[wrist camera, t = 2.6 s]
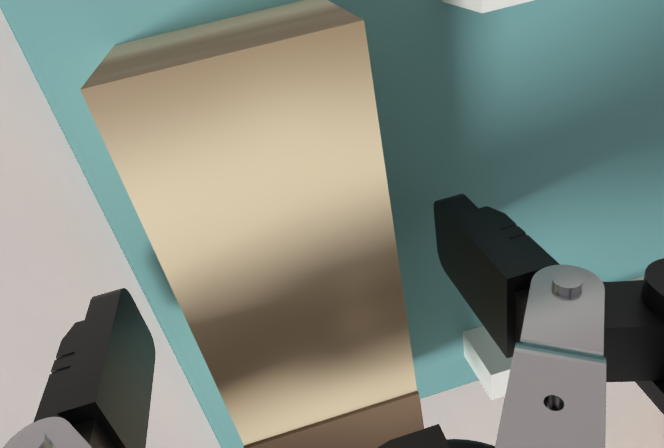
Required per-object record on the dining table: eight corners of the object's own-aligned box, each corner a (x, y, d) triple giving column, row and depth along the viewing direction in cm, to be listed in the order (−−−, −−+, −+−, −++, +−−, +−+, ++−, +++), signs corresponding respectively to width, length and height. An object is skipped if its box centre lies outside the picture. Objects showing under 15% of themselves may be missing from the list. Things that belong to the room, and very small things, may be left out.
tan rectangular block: (113, 45, 11) (77, 91, 8) (320, -4, 11) (366, 20, 8) (261, 409, 17) (273, 514, 14) (388, 369, 17) (428, 462, 14)
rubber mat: (-15, -44, 10) (-25, -42, 9) (874, -236, 12) (899, -242, 11) (227, 447, 18) (227, 460, 18) (719, 291, 20) (730, 299, 20)
